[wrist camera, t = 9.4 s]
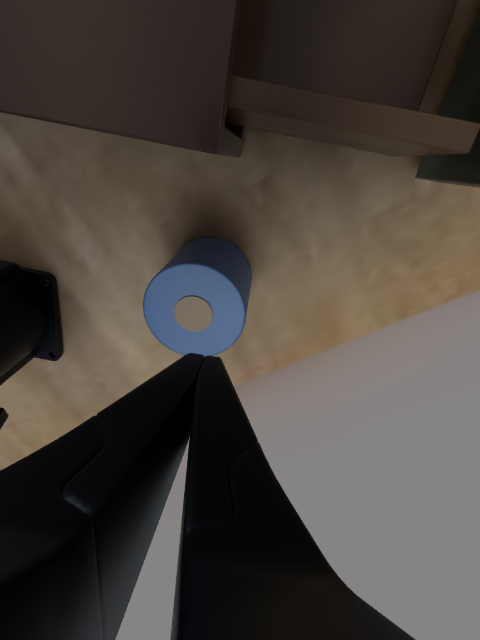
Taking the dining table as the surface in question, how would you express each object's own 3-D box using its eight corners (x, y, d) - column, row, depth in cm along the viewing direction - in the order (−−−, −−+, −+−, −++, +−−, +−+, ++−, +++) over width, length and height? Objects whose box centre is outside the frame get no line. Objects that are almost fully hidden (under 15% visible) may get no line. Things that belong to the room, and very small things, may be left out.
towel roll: (243, 318, 21) (236, 366, 16) (170, 304, 21) (140, 348, 16) (258, 244, 19) (254, 275, 14) (177, 229, 19) (144, 254, 14)
